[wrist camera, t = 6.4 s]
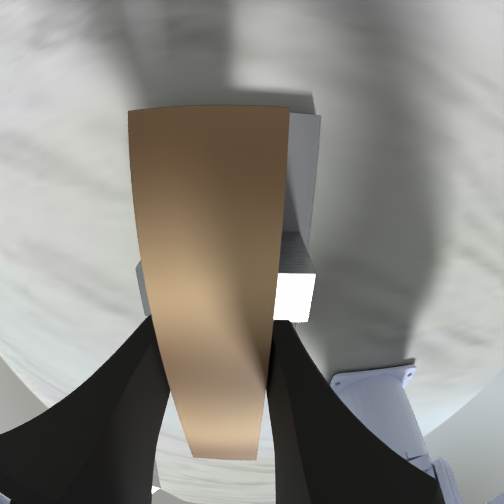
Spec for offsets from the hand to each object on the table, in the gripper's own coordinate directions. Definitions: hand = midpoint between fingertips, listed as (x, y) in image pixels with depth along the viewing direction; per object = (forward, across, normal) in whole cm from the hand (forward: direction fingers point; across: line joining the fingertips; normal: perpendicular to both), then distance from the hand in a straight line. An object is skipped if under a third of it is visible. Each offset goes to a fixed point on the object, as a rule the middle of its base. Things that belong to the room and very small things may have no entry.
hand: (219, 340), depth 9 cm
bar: (+2, 0, 0) cm, 2 cm away
